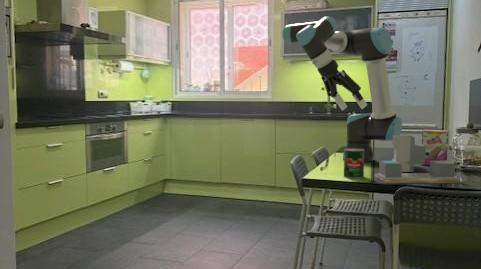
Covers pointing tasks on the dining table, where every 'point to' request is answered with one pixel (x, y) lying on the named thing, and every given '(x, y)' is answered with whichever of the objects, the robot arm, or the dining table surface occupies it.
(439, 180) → the board
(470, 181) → the dining table surface
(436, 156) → the candy bar box
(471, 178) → the dining table surface
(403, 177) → the tan flat panel
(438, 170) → the module
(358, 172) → the canned tomato
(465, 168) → the dining table surface
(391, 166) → the block
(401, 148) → the circuit breaker
